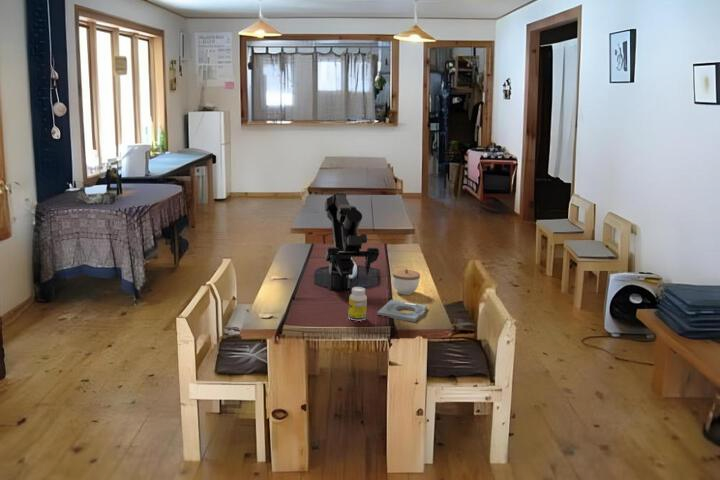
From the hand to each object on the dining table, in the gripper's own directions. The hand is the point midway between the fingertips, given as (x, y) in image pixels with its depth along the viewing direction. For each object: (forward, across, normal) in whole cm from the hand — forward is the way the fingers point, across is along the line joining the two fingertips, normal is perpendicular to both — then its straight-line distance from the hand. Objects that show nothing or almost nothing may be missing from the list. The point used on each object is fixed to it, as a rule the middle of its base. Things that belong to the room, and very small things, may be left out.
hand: (354, 275), depth 268 cm
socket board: (+11, +18, +8) cm, 23 cm away
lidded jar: (-5, +25, +25) cm, 36 cm away
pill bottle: (+15, 0, +4) cm, 16 cm away
